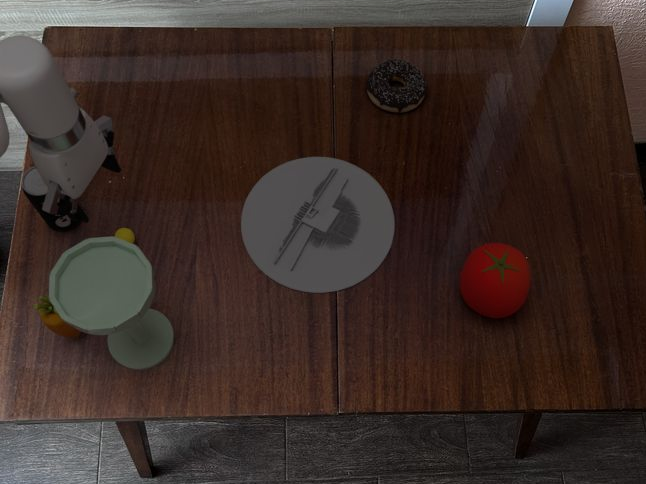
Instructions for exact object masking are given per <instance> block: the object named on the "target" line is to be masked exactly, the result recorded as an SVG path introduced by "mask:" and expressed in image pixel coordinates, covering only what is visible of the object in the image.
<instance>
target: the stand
mask: <svg viewBox="0 0 646 484" xmlns="http://www.w3.org/2000/svg"><path fill="white" fill-rule="evenodd" d="M174 343H175V331H174V328H173V324H172V323H171V322H170V320H169V319H168V317H167V316H166V315H165V314H163V313H162V312H161V311H160V310H159V311H158V310H157V309H154V308H149V309H148V311H147V312H146V314H145V315H144V316H143V317H142V318H141V319H140V320H139V321H138V322H137V323H135V324H134V325H132V326H131V327H129V328H127V329H125V330H123V331H120V332H117V333H114V334H108V335H107V348H108V352H109V353H110V355H111V356H112V358H113V360H115V362H117V363H118V364H119V365H120V366H122V367H124V368H126V369H129V370H133V371H144V370H145V371H146V370H149V369H152V368H155V367H156V366H158V365H160V364H161V363H163V362H164V361H165V360H166V359H167V358H168V357H169V355H170V353H171V352H172V350H173V347H174V345H175V344H174Z"/></svg>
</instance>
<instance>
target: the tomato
mask: <svg viewBox="0 0 646 484" xmlns="http://www.w3.org/2000/svg"><path fill="white" fill-rule="evenodd" d="M531 278H532V277H531V268H530V263H529V262H528V260H527V257H525V255H524V253H523V251H521V250H519V249H518V248H516V247H514V246H511V245H508V244H506V243H501V242H489V243H486V244H485V243H484V244H483V245H480V246H478V247H476V248H475V249H473V250H472V251H471V252H470V253H469V254H468V256H467V257H466V260H465V261H464V264H463V266H462V269H461V272H460V276H459V289H460V294H461V297H462V299H463V301H464V302H465V303H466V305H467V306H468V307H469V309H471V310H473V311H474V312H476V313H478V315H479V314H480V315H482V316H484V317H487V318H490V319H502V318H507V317H509V316H511V315H513V314H514V313H516V312H517V311H519V310H520V309H521V308H522V307H523V305H524V303H525V302H526V300H527V298H528V294H529V292H530V289H531V280H532V279H531Z"/></svg>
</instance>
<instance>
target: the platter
mask: <svg viewBox="0 0 646 484" xmlns="http://www.w3.org/2000/svg"><path fill="white" fill-rule="evenodd" d="M48 275H49V276H48V278H49V279H48V298H49V300H50V302H51V303H52V305H53V306H54V308H55V309H56V311H57V312H58V314H59V315H60V317H61V319H62V320H63V321H64V322H66V324H69V325H71V326H72V327H74V328H75V329H77V330H79V331H80V333H84V334H89V335H94V336H108V334H114V333H117V332H120V331H123V330H125V329H127V328H129V327H131V326H132V325H134V324H135V323H137V322H138V321H139V320H140V319H141V318H142V317H143V316H144V315H145V314H146V312H147V311H148V309H149V308H150V307H151V306H152V303H153V301H154V299H155V296H156V295H155V294H156V286H157V285H156V283H157V282H156V277H155V270H154V267H153V266H152V264H151V263H150V261H149V259H148V258H147V257H146V255H145V254H144V253H143V251H142V249H141V248H140V247H139V246H138V245H137V244H135V243H134V244H132V243H129V242H127V241H125V240H122V239H120V238H117V237H115V235H114V236H99V237H88V238H85V239H84V240H82V241H80V242H79V243H77V244H75V245H73V246H72V247H70V248H68V249H66V250H65V251H64V252H62V254H61V255H60V257H59V259H58V260H57V261H56V263H55V264H54V266H53V268H52V269H51V270H50V273H49V274H48Z"/></svg>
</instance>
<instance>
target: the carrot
mask: <svg viewBox="0 0 646 484" xmlns="http://www.w3.org/2000/svg"><path fill="white" fill-rule="evenodd" d="M38 300H39V301H41V303H40V302H38V303H34V304H33V309H34V310H39V311H38V315H39V317H40V319H41V321H42V324H43V325H44V326H46V327H47V328H48V330H50V331H51V332H52V333H54V334H56V335H59V336H61V337H64V338H69V339H75V338H77V337H79V336H80V333H81V331H79V330H77V329H75V328H74V327H72V326H71V325H69V324H66V322H64V321H63V320H62V319H61V317H60V315H59V314H58V312H57V311H56V309H55V308H54V306H53V305H52V303H51V302H50V300H49V297H47V296H45V295H39V297H38Z"/></svg>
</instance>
